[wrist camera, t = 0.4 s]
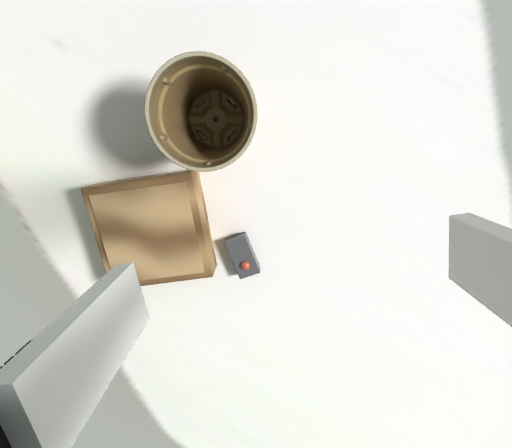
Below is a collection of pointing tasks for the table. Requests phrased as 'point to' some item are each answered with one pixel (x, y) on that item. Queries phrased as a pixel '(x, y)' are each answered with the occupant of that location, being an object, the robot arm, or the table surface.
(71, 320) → the robot arm
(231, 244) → the clicker
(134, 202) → the plinth
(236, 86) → the flower pot
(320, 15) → the table surface
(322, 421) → the table surface
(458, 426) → the table surface
